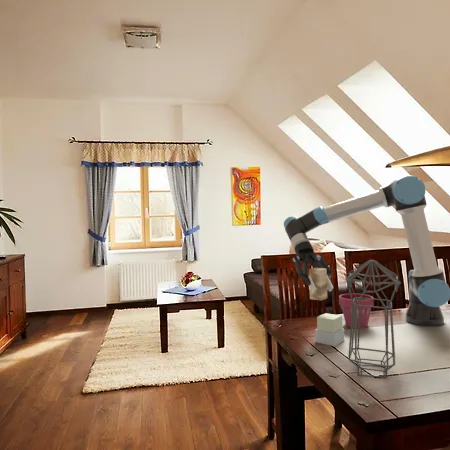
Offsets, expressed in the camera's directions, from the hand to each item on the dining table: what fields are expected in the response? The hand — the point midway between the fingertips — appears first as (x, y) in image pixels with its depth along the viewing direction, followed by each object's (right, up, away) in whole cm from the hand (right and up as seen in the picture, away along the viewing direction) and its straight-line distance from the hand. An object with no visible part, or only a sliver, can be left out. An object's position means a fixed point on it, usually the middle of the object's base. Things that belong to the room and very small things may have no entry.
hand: (323, 290), depth 148 cm
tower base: (+2, -20, -2) cm, 20 cm away
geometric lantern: (+8, -20, -31) cm, 38 cm away
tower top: (+2, -15, -2) cm, 15 cm away
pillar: (-1, -4, +3) cm, 5 cm away
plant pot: (+19, -19, +18) cm, 32 cm away
